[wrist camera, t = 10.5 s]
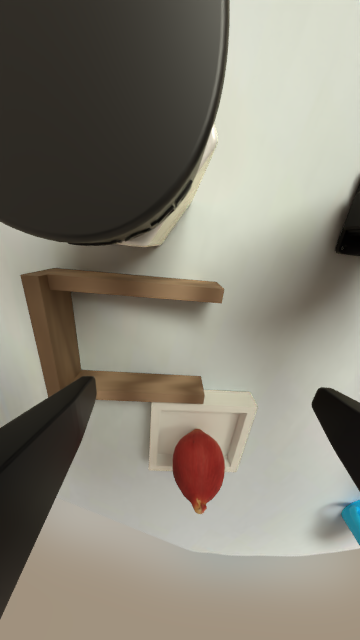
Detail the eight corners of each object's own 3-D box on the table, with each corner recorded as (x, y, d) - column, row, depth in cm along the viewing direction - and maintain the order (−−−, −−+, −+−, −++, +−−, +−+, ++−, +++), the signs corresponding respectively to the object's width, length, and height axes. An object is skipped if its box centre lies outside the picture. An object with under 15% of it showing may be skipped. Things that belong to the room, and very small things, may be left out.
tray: (250, 392, 23) (257, 407, 21) (231, 454, 28) (236, 472, 26) (153, 387, 22) (151, 402, 20) (150, 452, 27) (148, 470, 25)
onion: (216, 446, 25) (225, 532, 18) (174, 441, 25) (166, 524, 18) (223, 417, 23) (237, 503, 16) (176, 412, 23) (169, 495, 16)
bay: (216, 282, 18) (227, 292, 14) (199, 384, 22) (204, 412, 19) (54, 268, 17) (20, 274, 13) (71, 377, 22) (50, 405, 18)
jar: (82, 235, 16) (-127, 216, 5) (76, 108, 13) (-510, -713, 2) (184, 252, 17) (207, 267, 6) (202, 135, 14) (326, -326, 3)
